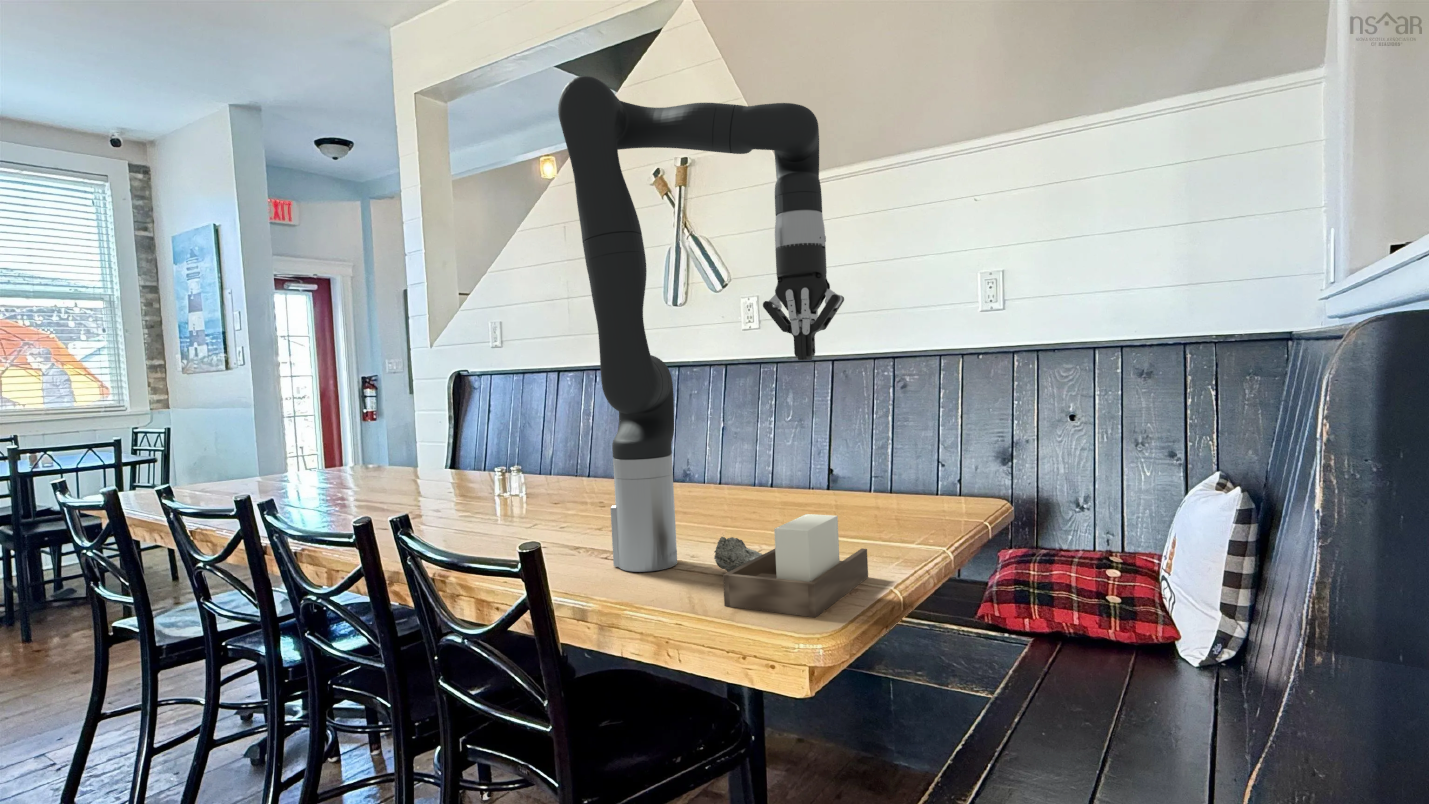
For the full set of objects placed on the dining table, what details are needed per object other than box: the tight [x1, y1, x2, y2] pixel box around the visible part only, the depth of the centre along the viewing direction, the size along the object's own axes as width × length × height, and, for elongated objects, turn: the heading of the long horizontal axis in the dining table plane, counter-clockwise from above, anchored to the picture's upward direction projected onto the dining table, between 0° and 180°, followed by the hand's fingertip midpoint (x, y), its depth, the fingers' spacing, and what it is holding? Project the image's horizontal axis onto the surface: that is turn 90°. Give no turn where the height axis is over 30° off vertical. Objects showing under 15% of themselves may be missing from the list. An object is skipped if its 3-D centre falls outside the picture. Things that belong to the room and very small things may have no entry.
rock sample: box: [713, 534, 764, 573], centre depth 114 cm, size 10×8×9 cm
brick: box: [774, 513, 841, 582], centre depth 99 cm, size 4×10×8 cm, turn 150°
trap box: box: [722, 548, 869, 618], centre depth 103 cm, size 12×19×4 cm, turn 150°
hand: (805, 360), depth 117 cm, fingers closed
